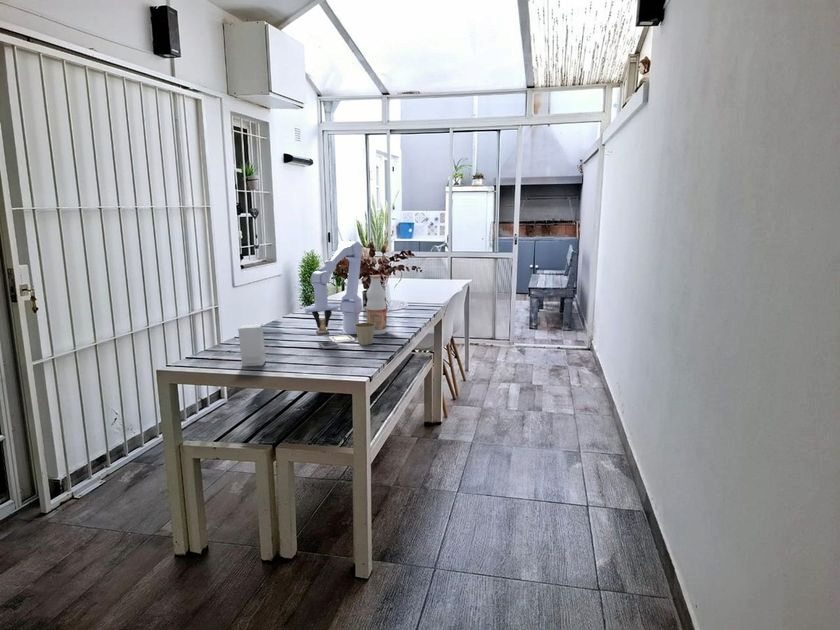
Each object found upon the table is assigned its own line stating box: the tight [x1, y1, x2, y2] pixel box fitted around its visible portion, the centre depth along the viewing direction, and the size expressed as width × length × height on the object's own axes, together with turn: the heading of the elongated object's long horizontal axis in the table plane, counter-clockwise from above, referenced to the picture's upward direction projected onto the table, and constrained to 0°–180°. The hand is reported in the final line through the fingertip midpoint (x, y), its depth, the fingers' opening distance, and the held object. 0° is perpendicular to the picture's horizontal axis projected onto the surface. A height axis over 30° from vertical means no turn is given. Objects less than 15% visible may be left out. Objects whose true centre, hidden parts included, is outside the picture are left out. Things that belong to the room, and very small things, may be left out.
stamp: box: [315, 317, 330, 337], centre depth 257 cm, size 5×5×7 cm
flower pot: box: [354, 322, 376, 346], centre depth 254 cm, size 9×9×9 cm
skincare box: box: [237, 323, 267, 367], centre depth 222 cm, size 8×7×16 cm
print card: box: [328, 334, 357, 344], centre depth 262 cm, size 11×10×1 cm
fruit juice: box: [366, 274, 388, 336], centre depth 272 cm, size 9×9×28 cm
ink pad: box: [320, 341, 339, 349], centre depth 251 cm, size 7×7×1 cm
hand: (322, 327), depth 257 cm, fingers closed on stamp, 3 cm apart
